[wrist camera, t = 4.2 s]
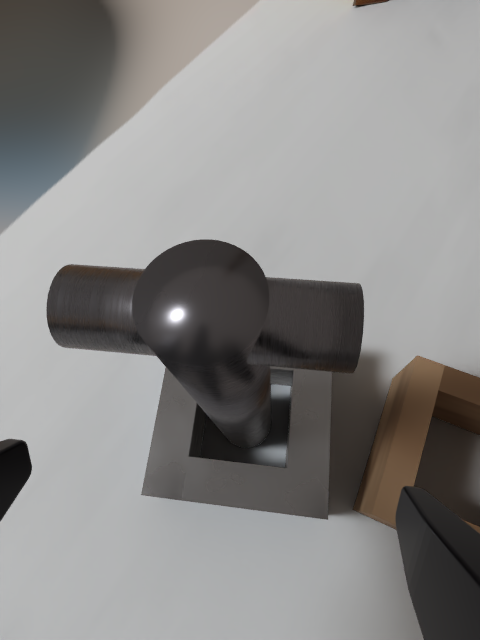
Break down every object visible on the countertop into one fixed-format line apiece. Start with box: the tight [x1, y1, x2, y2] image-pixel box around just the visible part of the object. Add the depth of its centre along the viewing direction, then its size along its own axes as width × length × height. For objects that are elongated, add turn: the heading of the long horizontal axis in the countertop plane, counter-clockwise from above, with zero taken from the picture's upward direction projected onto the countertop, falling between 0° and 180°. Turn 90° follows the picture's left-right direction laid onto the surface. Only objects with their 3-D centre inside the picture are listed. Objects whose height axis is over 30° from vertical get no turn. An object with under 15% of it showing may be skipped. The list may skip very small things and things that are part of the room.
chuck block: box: [141, 366, 332, 520], centre depth 20 cm, size 8×8×3 cm
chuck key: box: [47, 240, 364, 448], centre depth 14 cm, size 6×3×15 cm, turn 83°
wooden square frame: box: [353, 356, 480, 533], centre depth 18 cm, size 7×7×4 cm
